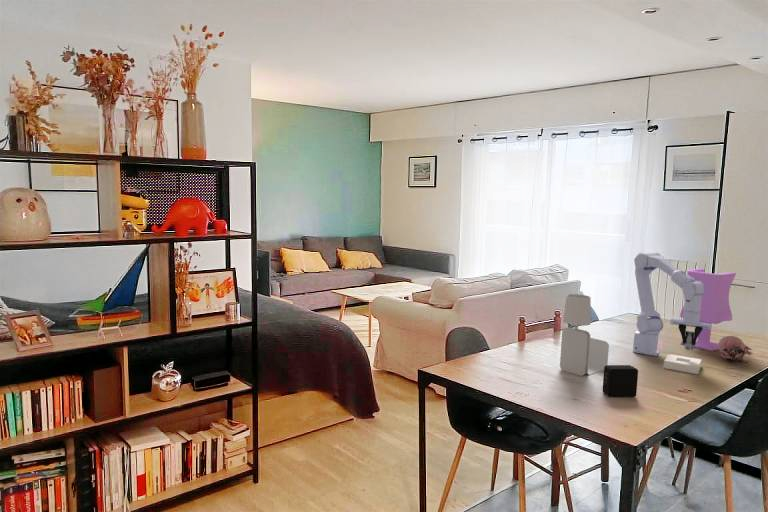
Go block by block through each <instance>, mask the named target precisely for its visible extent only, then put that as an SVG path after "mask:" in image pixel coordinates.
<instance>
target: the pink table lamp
mask: <svg viewBox="0 0 768 512" xmlns="http://www.w3.org/2000/svg"><path fill="white" fill-rule="evenodd" d="M686 274H687V275H689V276H690V277H691V278H694V279H695V280H696V281H702V282H703V283H704V285H705V287H706V291H705V293H704V294H703V295H702V298H701V309H700V319H699V322H703V323H708V324H712V325H717V324H721V323H723V322H730V321H733V313H732V310H731V307H730V296H729V295H730V289H731V288H732V287H731V286H732V284H733V282H734V279H735V277H736V275H737V272H724V273H710V272H705V269H704V268H695V269H694V268H692V269H687V270H686ZM683 315H684V306H682V309H681V311H680V315H679V317H680V318H683ZM711 333H712V329H711V330H709V329H705V328H703V329H702V331H701V333H700V334H699V336H698V338H697V340H696V343H695V345H693V348H695V349H700V350H703V351H704V350H705V351H707V350H708V352H711V351H712V352H714V351H719V349H718V343H719V342H715V341H711V335H712V334H711ZM680 345H682V346H685V344H683V340H682V341H681V342H680Z"/></svg>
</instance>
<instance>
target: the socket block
mask: <svg viewBox="0 0 768 512" xmlns="http://www.w3.org/2000/svg"><path fill="white" fill-rule="evenodd" d="M701 367H702V359H701V358H696V357H695V358H694V357H691V356H690V357H688V356H683V355H677V354H671V353H668V354H667V356H666V357H665V359H664V360H663V368H664V369H667V370H668V369H669V370H673V371H678V372H684V373H690V374H694V375H695V374H696V375H699V373H700V370H701Z"/></svg>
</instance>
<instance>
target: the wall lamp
mask: <svg viewBox="0 0 768 512" xmlns="http://www.w3.org/2000/svg"><path fill="white" fill-rule="evenodd" d="M565 298H566V299H565V305H564V312H563V319H562V322H563V323H565V324H567V325H571V326H574V327H571V326H568V327H565V328H563V329H562V331H561V345H560V357H559V367H560V370H561V371H562V372H567V373H570V374H573V375H577V376H580V377H581V376H584V375H588V376H591V375H593V374H596V373H599V372H601V371H604V367H605V366H606V365H609V364H608V363H609V352H610V351H609V349H610V348H609V347H610V346H609V342H607V341H606V340H603V339H597V338H592V337H591V334H590V332H589V331H587V330H584V329H579V326H585V327H586V326H590V325H591V324H592V322H591V318H592V317H591V315H592V313H591V311H592V310H591V303H592V302H591V296H590V295H585V294H578V293H575V294H573V293H572V294H571V293H569V294H566V297H565Z"/></svg>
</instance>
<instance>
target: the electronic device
mask: <svg viewBox="0 0 768 512" xmlns="http://www.w3.org/2000/svg"><path fill="white" fill-rule="evenodd" d="M602 377H603V378H602V393H603V394H604V395H606V396H607V397H609V398H636V396H637V393H638V392H637V390H638V380H639V379H638V378H639V370H638V368H637V367H634V366H632V365H630V364H625V365H624V364H621V365H620V364H618V365H617V364H616V365H615V364H612V365H611V364H610V365H609V364H607V365H606V366H605V367H604V370H603V376H602Z"/></svg>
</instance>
